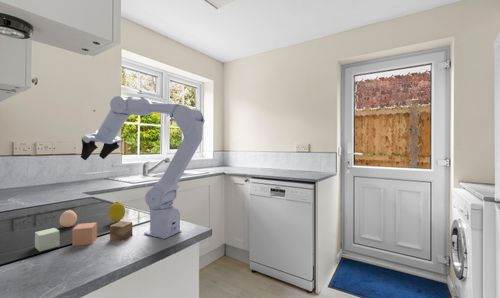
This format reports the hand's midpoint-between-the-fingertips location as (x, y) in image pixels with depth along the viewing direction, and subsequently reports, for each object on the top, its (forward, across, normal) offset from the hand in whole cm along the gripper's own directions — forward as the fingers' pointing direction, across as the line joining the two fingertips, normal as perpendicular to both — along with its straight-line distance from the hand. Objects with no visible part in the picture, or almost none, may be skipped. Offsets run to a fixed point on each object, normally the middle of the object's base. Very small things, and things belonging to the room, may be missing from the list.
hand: (92, 157), depth 86 cm
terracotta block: (+15, +12, +22) cm, 29 cm away
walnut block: (+10, +7, +29) cm, 32 cm away
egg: (+25, +3, +8) cm, 26 cm away
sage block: (+19, +18, +16) cm, 31 cm away
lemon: (+17, -5, +19) cm, 26 cm away
